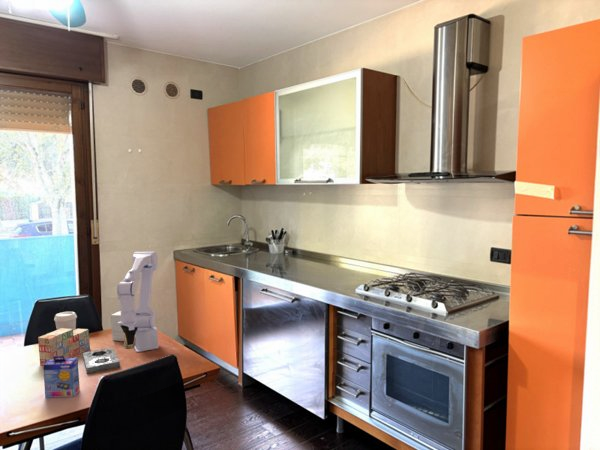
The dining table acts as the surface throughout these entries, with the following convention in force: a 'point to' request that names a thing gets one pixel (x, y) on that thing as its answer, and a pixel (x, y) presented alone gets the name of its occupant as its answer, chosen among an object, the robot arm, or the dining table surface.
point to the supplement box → (117, 327)
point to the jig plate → (100, 360)
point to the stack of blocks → (63, 344)
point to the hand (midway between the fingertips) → (129, 342)
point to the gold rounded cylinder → (127, 344)
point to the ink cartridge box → (61, 377)
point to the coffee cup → (65, 320)
